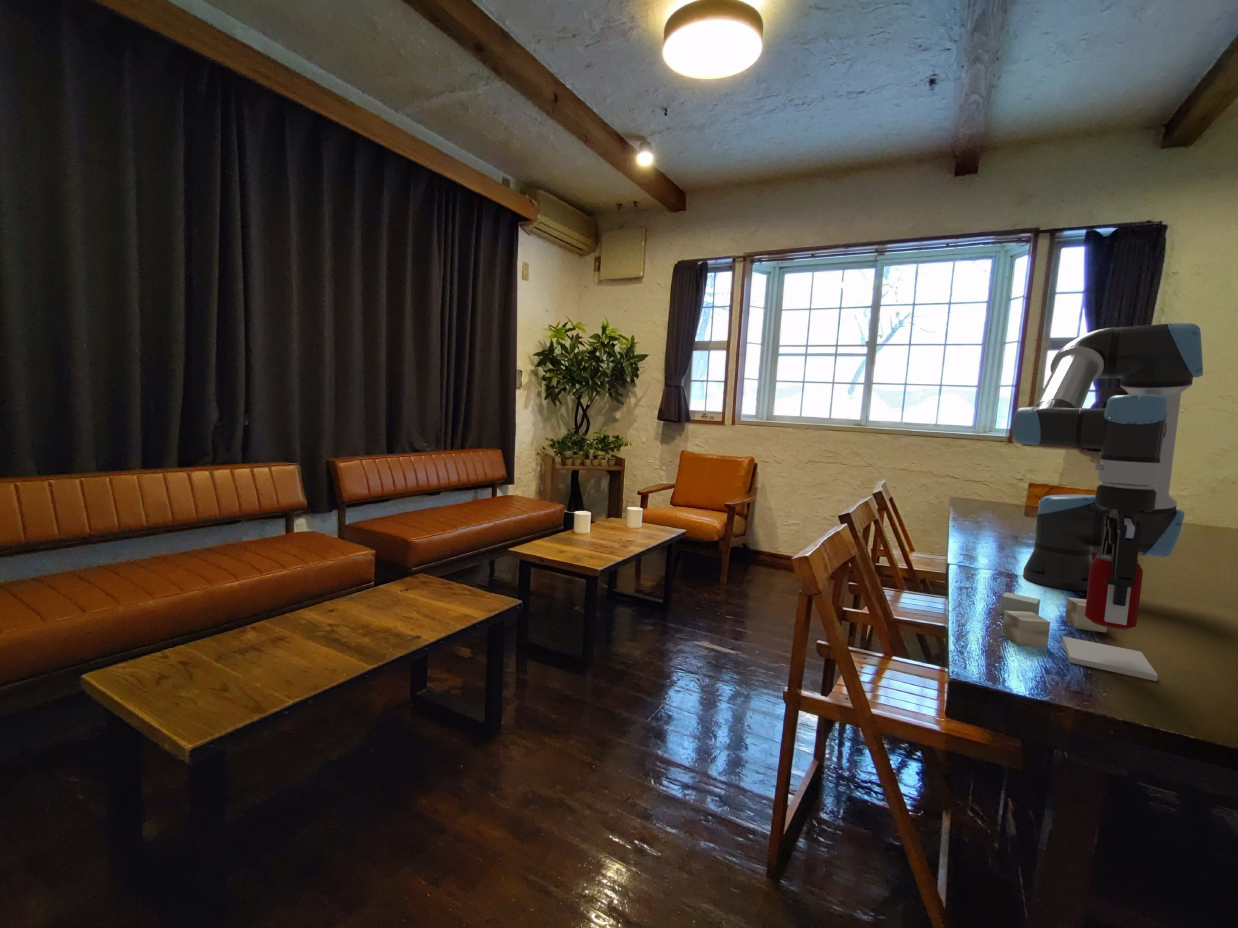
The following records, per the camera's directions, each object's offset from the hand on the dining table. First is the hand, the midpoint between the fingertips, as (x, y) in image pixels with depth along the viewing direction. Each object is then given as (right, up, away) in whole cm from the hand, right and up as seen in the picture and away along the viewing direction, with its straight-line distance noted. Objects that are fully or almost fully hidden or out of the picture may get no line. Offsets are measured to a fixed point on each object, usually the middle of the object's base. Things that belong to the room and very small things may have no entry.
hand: (1110, 615), depth 95 cm
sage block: (0, -6, +22) cm, 23 cm away
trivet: (0, -8, +1) cm, 8 cm away
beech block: (+10, -7, +17) cm, 21 cm away
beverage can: (0, -2, 0) cm, 2 cm away
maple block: (-9, -7, +8) cm, 14 cm away
